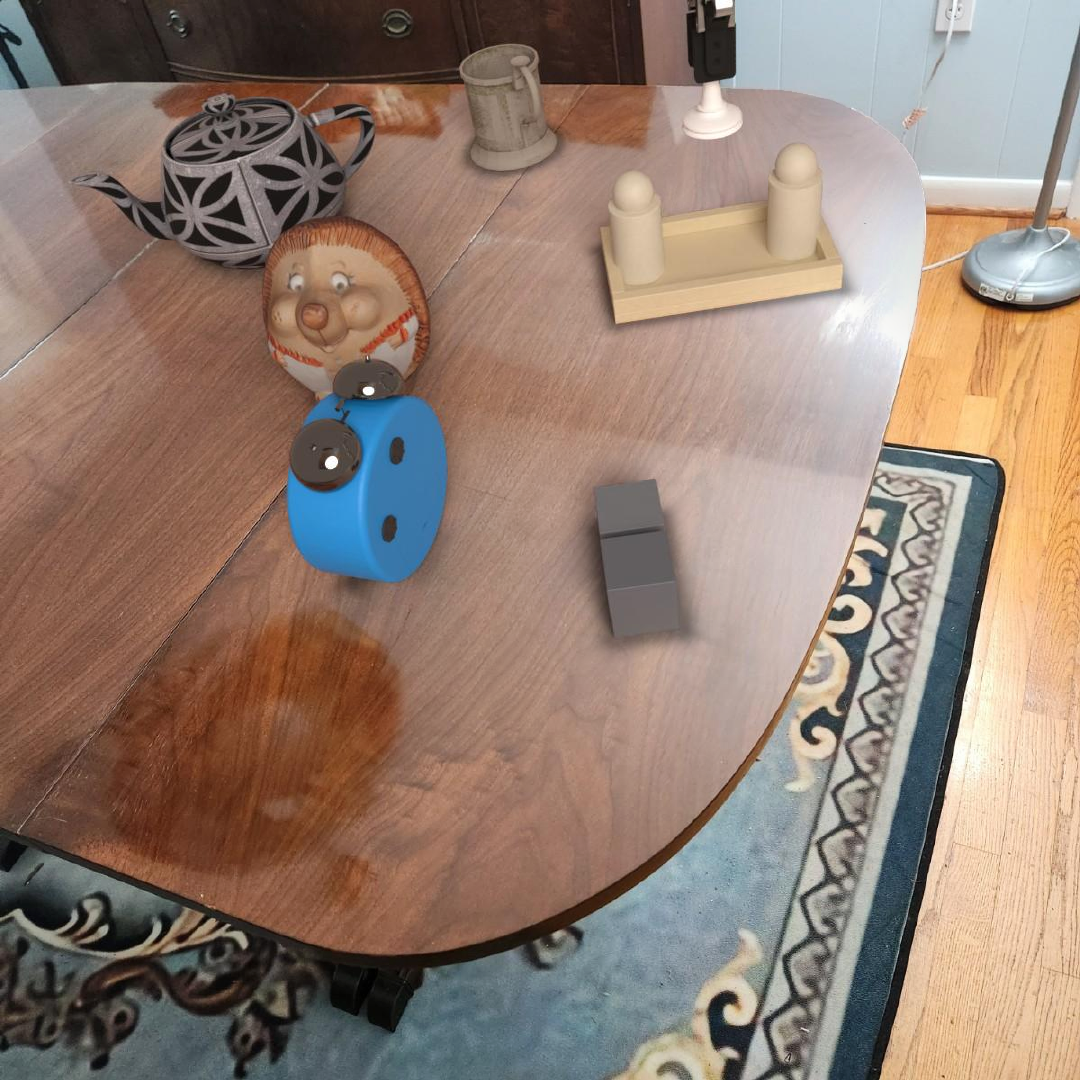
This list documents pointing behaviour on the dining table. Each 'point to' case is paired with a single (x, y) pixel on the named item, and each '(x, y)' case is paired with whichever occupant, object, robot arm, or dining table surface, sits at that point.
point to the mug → (506, 107)
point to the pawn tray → (719, 245)
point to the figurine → (341, 301)
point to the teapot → (242, 177)
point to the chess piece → (712, 115)
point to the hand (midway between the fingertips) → (711, 69)
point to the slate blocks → (636, 559)
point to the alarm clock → (367, 477)
